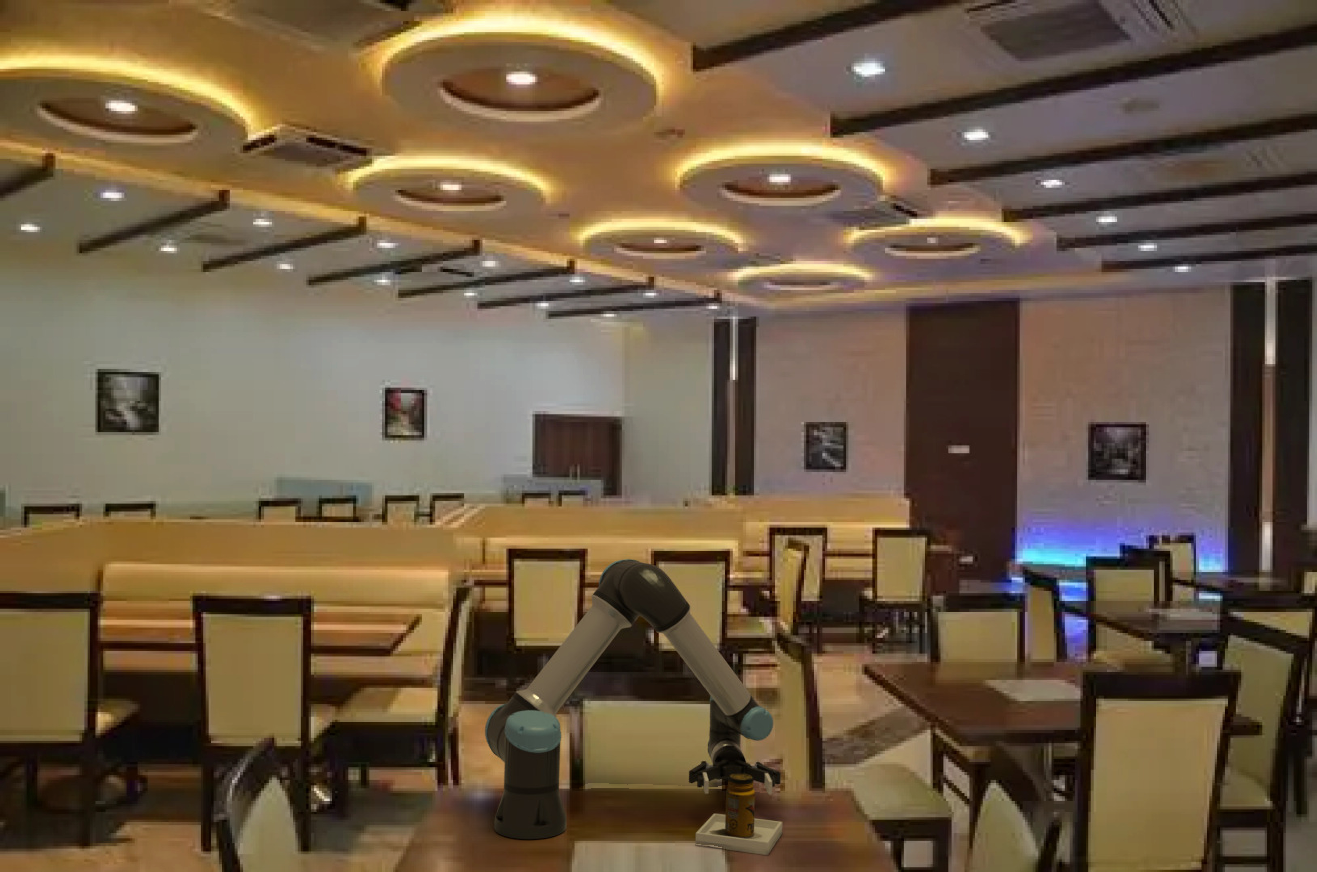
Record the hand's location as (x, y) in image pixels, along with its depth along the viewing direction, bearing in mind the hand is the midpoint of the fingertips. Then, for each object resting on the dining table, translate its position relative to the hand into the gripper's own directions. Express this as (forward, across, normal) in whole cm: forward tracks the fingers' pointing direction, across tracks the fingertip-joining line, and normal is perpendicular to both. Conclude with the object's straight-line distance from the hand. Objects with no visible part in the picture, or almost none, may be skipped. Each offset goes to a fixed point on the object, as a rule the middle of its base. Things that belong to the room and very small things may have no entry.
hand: (738, 787), depth 235 cm
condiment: (+6, +1, -8) cm, 10 cm away
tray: (+6, 0, -9) cm, 11 cm away
